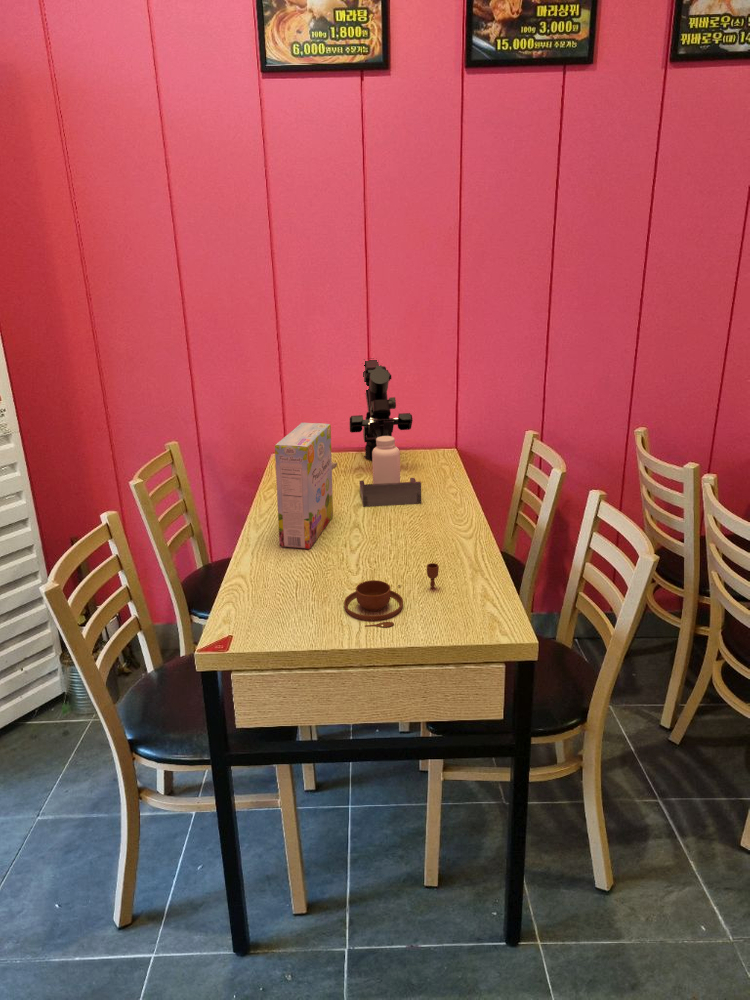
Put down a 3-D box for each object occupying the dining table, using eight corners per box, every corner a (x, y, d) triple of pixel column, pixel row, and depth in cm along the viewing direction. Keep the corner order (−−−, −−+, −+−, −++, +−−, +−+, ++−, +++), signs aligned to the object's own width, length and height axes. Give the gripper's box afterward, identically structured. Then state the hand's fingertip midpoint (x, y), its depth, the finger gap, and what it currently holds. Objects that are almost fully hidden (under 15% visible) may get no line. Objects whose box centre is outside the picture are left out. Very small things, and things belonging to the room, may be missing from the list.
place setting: (344, 589, 159) (343, 564, 157) (438, 586, 159) (438, 561, 157) (343, 632, 143) (342, 604, 141) (448, 628, 143) (448, 600, 141)
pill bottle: (369, 491, 214) (368, 441, 209) (377, 482, 221) (376, 433, 216) (396, 493, 212) (395, 442, 207) (403, 484, 219) (402, 435, 214)
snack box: (313, 550, 177) (307, 446, 168) (278, 548, 178) (270, 445, 169) (336, 516, 197) (331, 421, 188) (304, 515, 198) (298, 421, 189)
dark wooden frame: (359, 490, 215) (359, 470, 213) (414, 487, 216) (414, 467, 214) (363, 506, 203) (362, 486, 201) (421, 503, 204) (421, 482, 202)
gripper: (348, 389, 219) (352, 435, 213) (411, 386, 221) (417, 432, 214) (348, 409, 229) (351, 453, 223) (408, 406, 231) (413, 450, 224)
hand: (383, 447), depth 221 cm, fingers closed
